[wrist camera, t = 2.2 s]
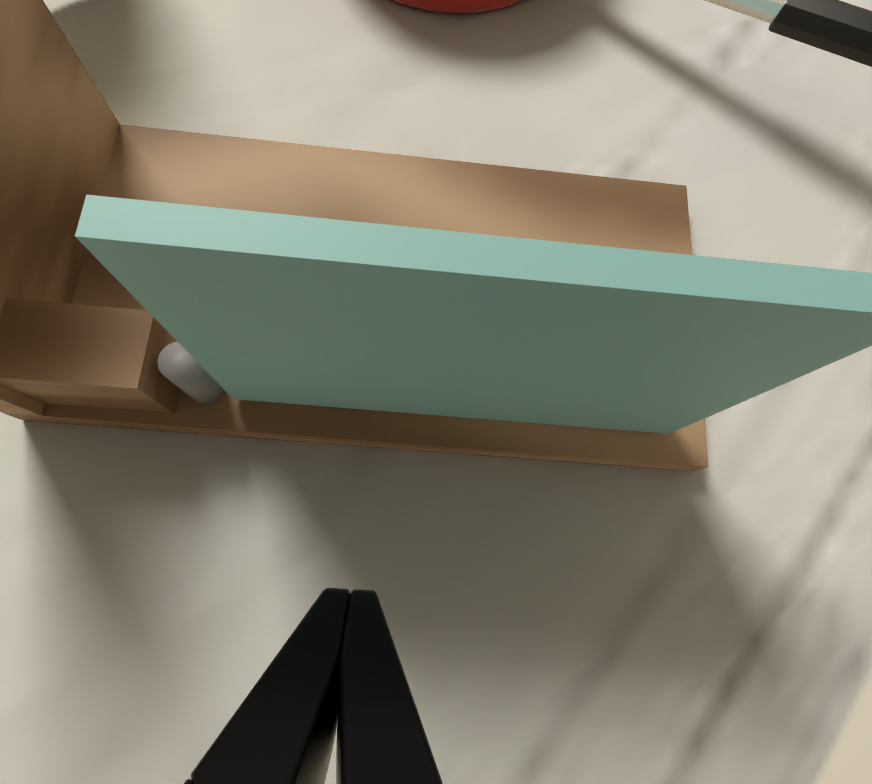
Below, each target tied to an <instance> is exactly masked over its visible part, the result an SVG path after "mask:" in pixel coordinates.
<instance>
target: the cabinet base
mask: <svg viewBox="0 0 872 784" xmlns="http://www.w3.org/2000/svg"><path fill="white" fill-rule="evenodd" d="M86 195H96V196H106V197H116V198H126V199H136V200H146V201H156V202H166V203H176V204H186V205H196V206H206V207H216V208H226V209H236V210H246V211H256V212H266V213H276V214H286V215H296V216H306V217H316V218H326V219H336V220H346V221H356V222H366V223H376V224H386V225H396V226H406V227H416V228H426V229H436V230H446V231H456V232H466V233H476V234H486V235H496V236H506V237H516V238H526V239H536V240H546V241H556V242H566V243H576V244H586V245H596V246H606V247H616V248H626V249H636V250H646V251H656V252H666V253H676V254H686V255H692V253H691V240H690V227H689V214H688V201H687V188H686V186H683V185H674V184H665V183H655V182H646V181H637V180H627V179H618V178H609V177H600V176H590V175H581V174H572V173H563V172H553V171H544V170H535V169H525V168H516V167H507V166H498V165H488V164H479V163H470V162H460V161H451V160H442V159H433V158H423V157H414V156H405V155H396V154H386V153H377V152H368V151H358V150H349V149H340V148H331V147H321V146H312V145H303V144H294V143H284V142H275V141H266V140H256V139H247V138H238V137H229V136H219V135H210V134H201V133H191V132H182V131H173V130H164V129H154V128H145V127H136V126H127V125H120V124H119V123H118V121H117V119H116V118H115V116H114V114H113V113H112V111H111V110H110V108H109V106H108V105H107V103H106V102H105V100H104V98H103V97H102V95H101V93H100V92H99V90H98V89H97V87H96V85H95V84H94V82H93V81H92V79H91V77H90V76H89V74H88V72H87V71H86V69H85V68H84V66H83V64H82V63H81V61H80V60H79V58H78V56H77V55H76V53H75V51H74V50H73V48H72V47H71V45H70V43H69V42H68V40H67V39H66V37H65V35H64V34H63V32H62V30H61V29H60V27H59V26H58V24H57V22H56V21H55V19H54V18H53V16H52V14H51V13H50V11H49V10H48V8H47V6H46V5H45V3H44V1H43V0H0V412H2V413H5V414H7V415H10V416H13V417H15V418H18V419H21V420H27V421H41V422H54V423H67V424H80V425H93V426H107V427H120V428H133V429H146V430H160V431H173V432H186V433H199V434H213V435H226V436H239V437H252V438H265V439H279V440H292V441H305V442H318V443H332V444H345V445H358V446H371V447H385V448H398V449H411V450H424V451H437V452H451V453H464V454H477V455H490V456H504V457H517V458H530V459H543V460H557V461H570V462H583V463H596V464H609V465H623V466H636V467H649V468H662V469H676V470H689V471H694V470H698V469H702V468H705V467H708V460H707V447H706V435H705V422H704V419H702V420H700V421H697V422H695V423H693V424H691V425H688V426H686V427H684V428H681V429H679V430H677V431H675V432H672V433H670V434H665V433H652V432H640V431H627V430H614V429H602V428H589V427H577V426H564V425H552V424H539V423H526V422H514V421H501V420H489V419H476V418H464V417H451V416H438V415H426V414H413V413H401V412H388V411H376V410H363V409H350V408H338V407H325V406H313V405H300V404H288V403H275V402H262V401H250V400H237V399H233V398H232V397H231V396H230V395H229V394H228V393H227V392H225V394H224V396H223V397H222V398H221V399H220V400H219V401H218V402H216V403H214V404H211V405H202V404H199V403H197V402H196V401H195V400H193V399H192V398H191V397H190V396H188V395H187V394H186V393H185V392H183V391H182V390H181V389H180V388H179V387H177V386H176V385H175V384H174V383H172V382H171V381H170V380H169V379H167V378H166V377H165V376H164V375H163V374H162V373H161V372H160V370H159V368H158V357H159V354H160V352H161V351H162V350H163V349H164V348H165V347H166V346H167V345H169V344H171V343H173V342H177V341H176V339H175V338H174V337H173V336H172V335H171V334H170V333H169V332H168V331H167V330H166V329H165V328H164V327H163V326H162V325H161V324H160V323H159V322H158V321H157V320H156V319H155V318H154V317H153V316H152V315H151V314H150V313H149V312H148V311H147V310H146V309H145V308H144V307H143V306H142V305H141V304H140V303H139V302H138V301H137V300H136V298H135V297H134V296H133V295H132V294H131V293H130V292H129V291H128V290H127V289H126V288H125V287H124V286H123V285H122V284H121V283H120V282H119V281H118V280H117V279H116V278H115V277H114V276H113V275H112V274H111V273H110V272H109V271H108V270H107V269H106V268H105V267H104V266H103V265H102V264H101V263H100V262H99V261H98V260H97V259H96V258H95V256H94V255H93V254H92V253H91V252H90V251H89V250H88V249H87V248H86V247H85V246H84V245H83V244H82V243H81V242H80V241H79V240H78V239H77V238H76V237H75V234H76V230H77V227H78V223H79V219H80V216H81V212H82V209H83V205H84V201H85V198H86Z"/></svg>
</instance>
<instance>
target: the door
mask: <svg viewBox="0 0 872 784" xmlns="http://www.w3.org/2000/svg"><path fill="white" fill-rule="evenodd" d="M75 237H76V238H77V239H78V240H79V241H80V242H81V243H82V244H83V245H84V246H85V247H86V248H87V249H88V250H89V251H90V252H91V253H92V254H93V255H94V256H95V258H96V259H97V260H98V261H99V262H100V263H101V264H102V265H103V266H104V267H105V268H106V269H107V270H108V271H109V272H110V273H111V274H112V275H113V276H114V277H115V278H116V279H117V280H118V281H119V282H120V283H121V284H122V285H123V286H124V287H125V288H126V289H127V290H128V291H129V292H130V293H131V294H132V295H133V296H134V297H135V298H136V300H137V301H138V302H139V303H140V304H141V305H142V306H143V307H144V308H145V309H146V310H147V311H148V312H149V313H150V314H151V315H152V316H153V317H154V318H155V319H156V320H157V321H158V322H159V323H160V324H161V325H162V326H163V327H164V328H165V329H166V330H167V331H168V332H169V333H170V334H171V335H172V336H173V337H174V338H175V339H176V341H177V342H173V343H171V344H169V345H167V346H166V347H165V348H164V349H163V350H162V351H161V352H160V354H159V357H158V368H159V370H160V372H161V373H162V374H163V375H164V376H165V377H166V378H167V379H169V380H170V381H171V382H172V383H174V384H175V385H176V386H177V387H179V388H180V389H181V390H182V391H183V392H185V393H186V394H187V395H188V396H190V397H191V398H192V399H193V400H195V401H196V402H197V403H199V404H202V405H211V404H214V403H216V402H218V401H219V400H220V399H221V398H222V397H223V396H224V394H225V392H227V393H228V394H229V395H230V396H231V397H232V398H233V399H237V400H250V401H262V402H275V403H288V404H300V405H313V406H325V407H338V408H350V409H363V410H376V411H388V412H401V413H413V414H426V415H438V416H451V417H464V418H476V419H489V420H501V421H514V422H526V423H539V424H552V425H564V426H577V427H589V428H602V429H614V430H627V431H640V432H652V433H665V434H670V433H672V432H675V431H677V430H679V429H681V428H684V427H686V426H688V425H691V424H693V423H695V422H697V421H700V420H702V419H704V418H707V417H709V416H711V415H714V414H716V413H718V412H720V411H723V410H725V409H727V408H730V407H732V406H734V405H736V404H739V403H741V402H743V401H746V400H748V399H750V398H752V397H755V396H757V395H759V394H762V393H764V392H766V391H769V390H771V389H773V388H775V387H778V386H780V385H782V384H785V383H787V382H789V381H791V380H794V379H796V378H798V377H801V376H803V375H805V374H807V373H810V372H812V371H814V370H817V369H819V368H821V367H824V366H826V365H828V364H830V363H833V362H835V361H837V360H840V359H842V358H844V357H846V356H849V355H851V354H853V353H856V352H858V351H860V350H862V349H865V348H867V347H869V346H872V273H866V272H856V271H846V270H836V269H826V268H816V267H806V266H796V265H786V264H776V263H766V262H756V261H746V260H736V259H726V258H716V257H706V256H696V255H686V254H676V253H666V252H656V251H646V250H636V249H626V248H616V247H606V246H596V245H586V244H576V243H566V242H556V241H546V240H536V239H526V238H516V237H506V236H496V235H486V234H476V233H466V232H456V231H446V230H436V229H426V228H416V227H406V226H396V225H386V224H376V223H366V222H356V221H346V220H336V219H326V218H316V217H306V216H296V215H286V214H276V213H266V212H256V211H246V210H236V209H226V208H216V207H206V206H196V205H186V204H176V203H166V202H156V201H146V200H136V199H126V198H116V197H106V196H96V195H86V198H85V201H84V205H83V209H82V212H81V216H80V219H79V223H78V227H77V230H76V234H75Z"/></svg>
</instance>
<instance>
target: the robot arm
mask: <svg viewBox="0 0 872 784" xmlns="http://www.w3.org/2000/svg"><path fill="white" fill-rule="evenodd" d="M337 721H338V722H337ZM336 728H337V753H336V784H443V783H442V780H441V777H440V774H439V772H438V769H437V766H436V763H435V760H434V757H433V754H432V751H431V748H430V746H429V743H428V740H427V737H426V734H425V731H424V728H423V725H422V723H421V720H420V717H419V714H418V711H417V708H416V705H415V702H414V700H413V697H412V694H411V691H410V688H409V685H408V682H407V679H406V677H405V674H404V671H403V668H402V665H401V662H400V659H399V656H398V653H397V651H396V648H395V645H394V642H393V639H392V636H391V633H390V630H389V628H388V625H387V622H386V619H385V616H384V613H383V610H382V607H381V605H380V602H379V599H378V596H377V594H376V592H375V591H372V590H356V589H355V590H352V591H351V593H350V592H349V590H347V589H340V588H326V589H325V590H324V591H323V592H322V593H321V594H320V596H319V597H318V599H317V600H316V601H315V603H314V604H313V605H312V607H311V608H310V610H309V611H308V612H307V614H306V615H305V617H304V618H303V619H302V621H301V622H300V623H299V625H298V626H297V628H296V629H295V630H294V632H293V633H292V635H291V636H290V637H289V639H288V640H287V641H286V643H285V644H284V646H283V647H282V648H281V650H280V651H279V653H278V654H277V655H276V657H275V658H274V660H273V661H272V662H271V664H270V665H269V666H268V668H267V669H266V671H265V672H264V673H263V675H262V676H261V678H260V679H259V680H258V682H257V683H256V684H255V686H254V687H253V689H252V690H251V691H250V693H249V694H248V696H247V697H246V698H245V700H244V701H243V703H242V704H241V705H240V707H239V708H238V709H237V711H236V712H235V714H234V715H233V716H232V718H231V719H230V721H229V722H228V723H227V725H226V726H225V727H224V729H223V730H222V732H221V733H220V734H219V736H218V737H217V739H216V740H215V741H214V743H213V744H212V745H211V747H210V748H209V750H208V751H207V752H206V754H205V755H204V757H203V758H202V759H201V761H200V762H199V764H198V765H197V766H196V768H195V769H194V770H193V772H192V773H191V779H188V780H186V781H185V783H184V784H324V783H325V779H326V774H327V770H328V766H329V761H330V757H331V753H332V749H333V744H334V739H335V734H336Z"/></svg>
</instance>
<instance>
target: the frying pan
mask: <svg viewBox="0 0 872 784" xmlns="http://www.w3.org/2000/svg"><path fill="white" fill-rule="evenodd" d="M394 1H396V2H399V3H401V4H403V5H407V6H411V7H415V8H419V9H423V10H427V11H434V12H445V13H456V14H458V13H475V12H485V11H489V10H494V9H498V8H502V7H507V6H509V5H512V4H514V3H516V2H519V1H521V0H394ZM705 1H708V2H710V3H713V4H716V5H719V6H722V7H725V8H728V9H731V10H733V11H736V12H739V13H742V14H745V15H748V16H751V17H754V18H757V19H759V20H762V21H765V22H768V23H771V24H770V26H769V30H770V31H771V32H774V33H777V34H780V35H782V36H785V37H788V38H791V39H794V40H797V41H800V42H802V43H805V44H808V45H811V46H814V47H817V48H820V49H822V50H825V51H828V52H831V53H834V54H837V55H840V56H842V57H845V58H848V59H851V60H854V61H857V62H859V63H862V64H865V65H868V66H871V67H872V11H870V10H867V9H864V8H861V7H857V6H854V5H851V4H848V3H845V2H842V1H839V0H705Z"/></svg>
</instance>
